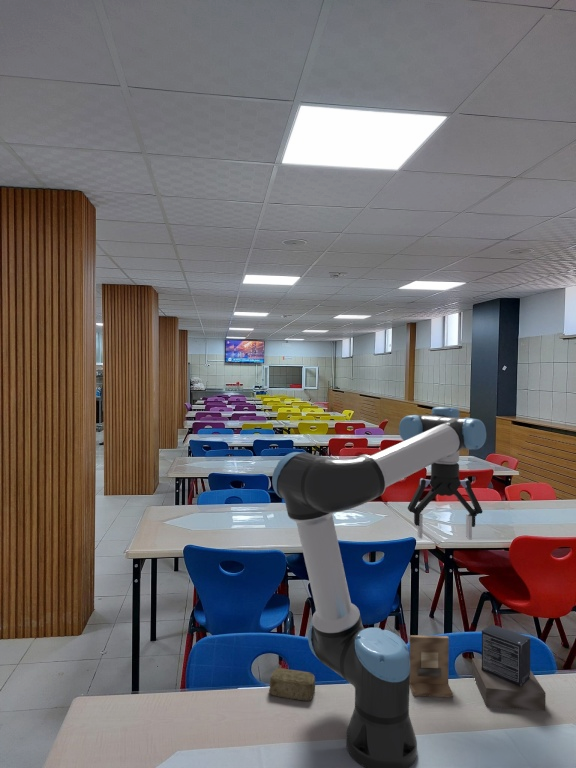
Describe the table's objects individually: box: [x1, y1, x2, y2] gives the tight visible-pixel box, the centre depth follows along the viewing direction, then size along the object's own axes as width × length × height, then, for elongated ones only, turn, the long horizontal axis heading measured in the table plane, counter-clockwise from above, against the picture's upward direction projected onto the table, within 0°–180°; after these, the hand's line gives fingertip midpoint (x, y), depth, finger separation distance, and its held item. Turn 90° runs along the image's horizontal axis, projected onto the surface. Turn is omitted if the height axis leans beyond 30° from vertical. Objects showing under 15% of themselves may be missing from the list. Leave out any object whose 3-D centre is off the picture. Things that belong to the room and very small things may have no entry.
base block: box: [471, 657, 547, 712], centre depth 131 cm, size 14×14×5 cm
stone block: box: [268, 667, 316, 701], centre depth 129 cm, size 6×12×5 cm, turn 78°
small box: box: [481, 623, 531, 687], centre depth 131 cm, size 11×6×10 cm, turn 43°
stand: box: [409, 634, 454, 698], centre depth 132 cm, size 10×6×13 cm, turn 88°
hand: (444, 537), depth 142 cm, fingers open, 13 cm apart
